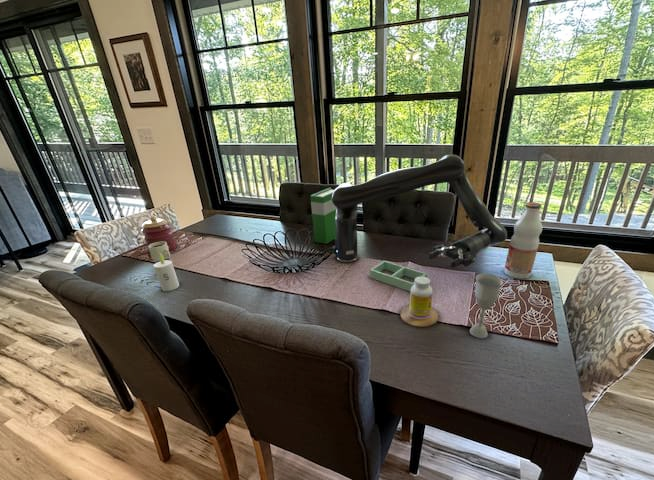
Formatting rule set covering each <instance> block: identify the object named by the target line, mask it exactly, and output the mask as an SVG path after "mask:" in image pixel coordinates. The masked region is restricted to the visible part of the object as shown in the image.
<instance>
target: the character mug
mask: <svg viewBox="0 0 654 480" xmlns="http://www.w3.org/2000/svg"><path fill="white" fill-rule="evenodd" d="M148 248H149V250H148V252H149V251H150V252H149V254H150V256H151V260H153V261H154V262H155V263H157V262H160V257H159V252H160V253H161V254H162V256H163V258H164V260H170V261H171V259H170V257H171V251H170V252H169V249H168V246H167V243H166V242H156V243H152V244H150V245H149V246H147V249H148Z"/></svg>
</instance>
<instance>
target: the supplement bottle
mask: <svg viewBox="0 0 654 480" xmlns="http://www.w3.org/2000/svg"><path fill="white" fill-rule="evenodd" d="M413 283H415V284H414V285H413V286H412V287H411V292H410V297H409V305H410V309H409V313H410V315H411V316H412V317H413V318H415V319H418V320H424V319H427V318H428V317H429V316H430V312H431V308H432V303H433V293H434V292H433V287H432V286H431V279H430V278H429V277H428V276H427V277H417V278H415V279H414V281H413Z"/></svg>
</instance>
